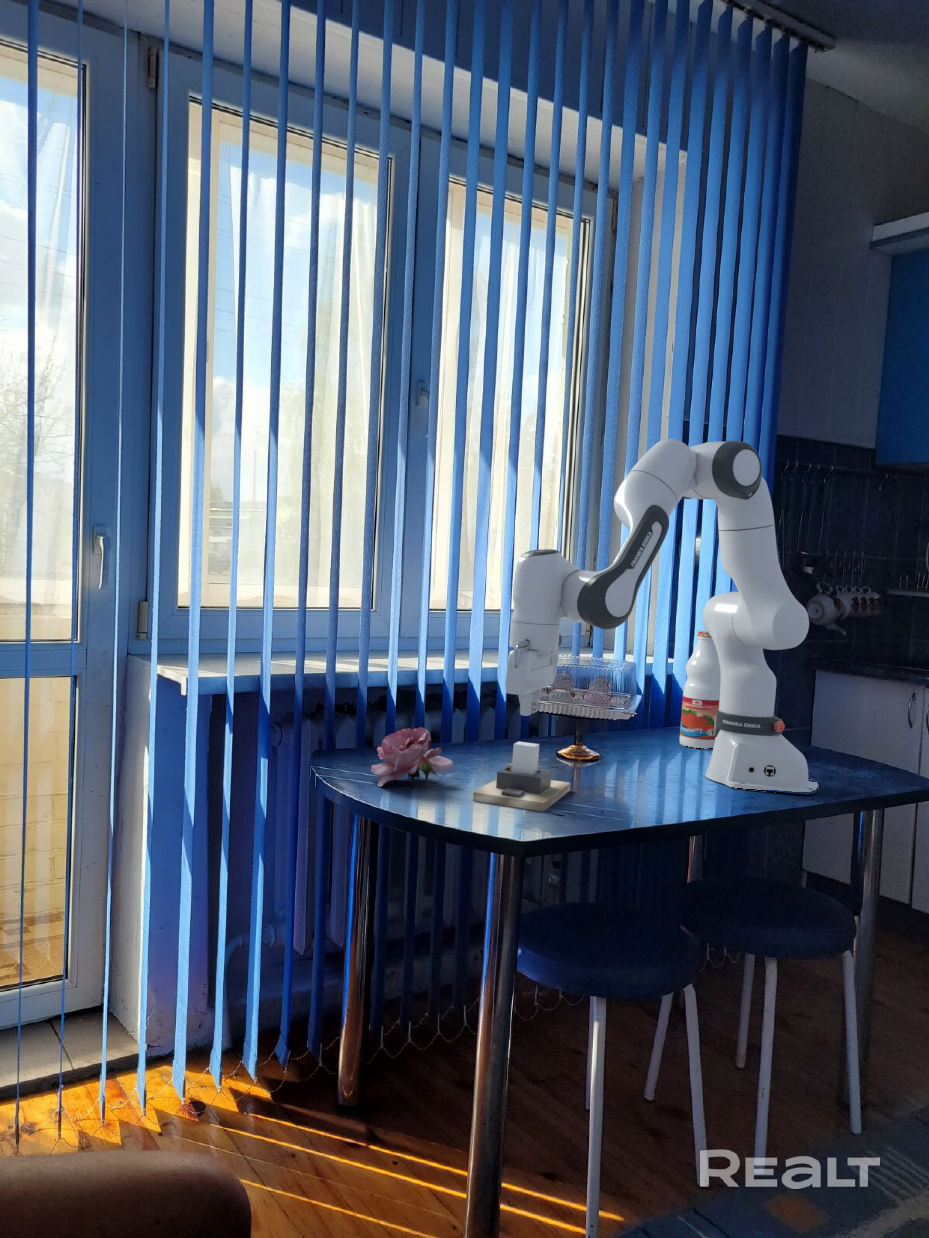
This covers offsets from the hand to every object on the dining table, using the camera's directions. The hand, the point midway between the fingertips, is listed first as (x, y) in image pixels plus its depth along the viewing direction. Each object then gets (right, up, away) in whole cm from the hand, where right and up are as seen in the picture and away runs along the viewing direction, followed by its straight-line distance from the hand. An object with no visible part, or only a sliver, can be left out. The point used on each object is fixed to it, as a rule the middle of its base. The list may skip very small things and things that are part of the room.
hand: (528, 713), depth 183 cm
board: (-1, -15, +1) cm, 15 cm away
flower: (-22, -14, +5) cm, 26 cm away
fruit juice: (+46, -14, +63) cm, 79 cm away
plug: (-1, -14, +1) cm, 14 cm away
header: (-1, -14, +1) cm, 14 cm away
